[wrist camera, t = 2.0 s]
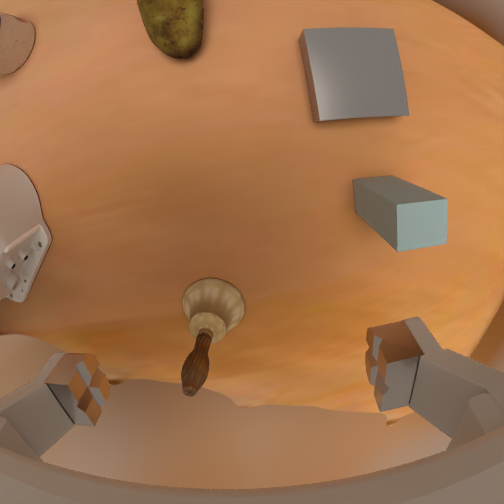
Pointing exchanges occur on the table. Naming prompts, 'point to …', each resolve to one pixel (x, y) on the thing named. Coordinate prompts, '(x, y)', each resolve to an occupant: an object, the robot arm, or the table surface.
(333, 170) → the table surface
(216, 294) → the hand bell
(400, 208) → the teal block
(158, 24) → the potato
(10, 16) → the teacup with lid
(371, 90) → the slate slab
